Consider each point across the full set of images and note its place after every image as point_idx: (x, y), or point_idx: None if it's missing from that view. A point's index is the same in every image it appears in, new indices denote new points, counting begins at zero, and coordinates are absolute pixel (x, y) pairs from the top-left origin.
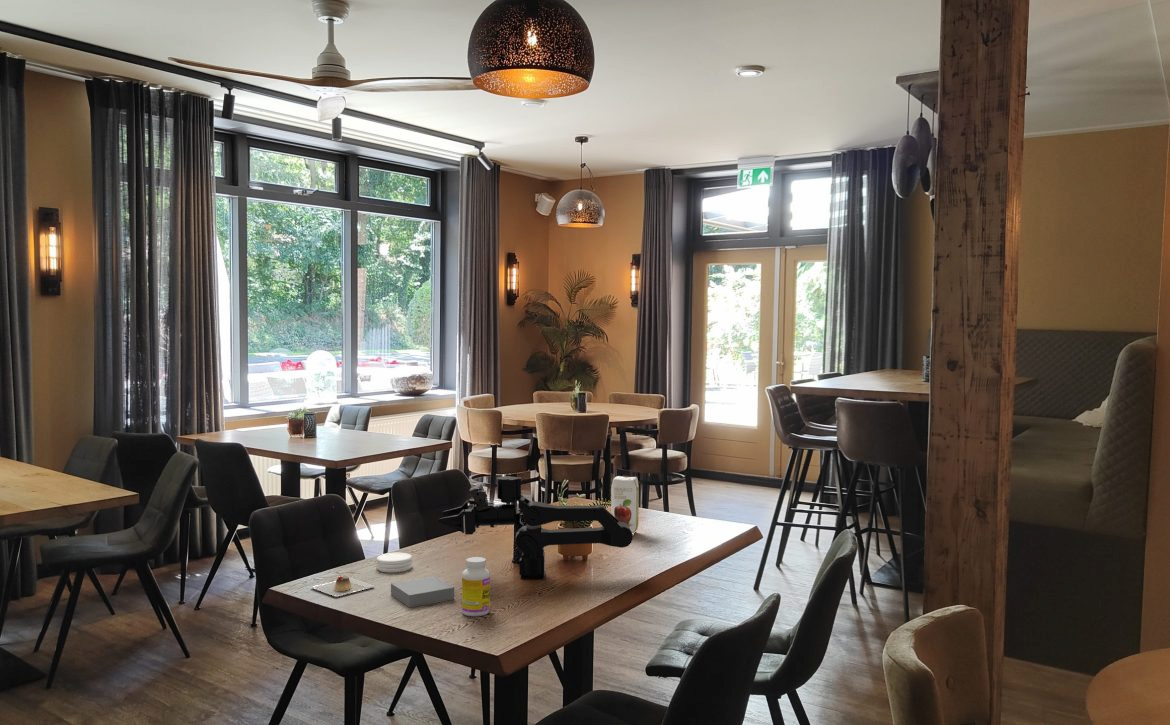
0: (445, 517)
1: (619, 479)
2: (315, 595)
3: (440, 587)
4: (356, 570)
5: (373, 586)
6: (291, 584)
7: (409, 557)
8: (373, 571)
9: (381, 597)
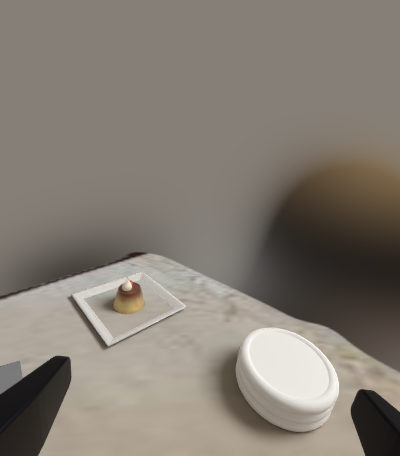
0: (1, 406)
1: None
2: (105, 278)
3: None
4: (245, 316)
5: (106, 342)
6: (171, 261)
7: (291, 401)
8: None
9: None
